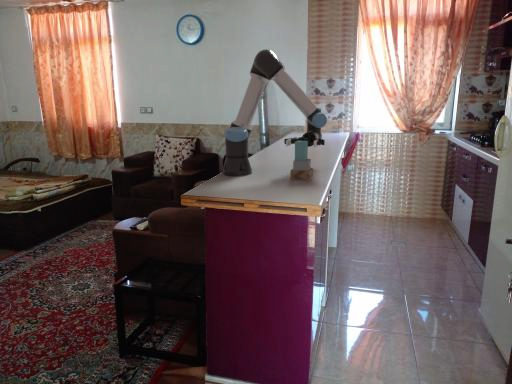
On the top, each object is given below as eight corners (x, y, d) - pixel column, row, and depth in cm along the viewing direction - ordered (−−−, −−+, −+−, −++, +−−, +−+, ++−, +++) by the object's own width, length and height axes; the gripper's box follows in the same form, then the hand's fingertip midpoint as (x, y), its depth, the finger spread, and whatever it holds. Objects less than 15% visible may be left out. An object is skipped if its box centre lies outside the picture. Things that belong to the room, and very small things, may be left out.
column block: (294, 160, 192) (294, 141, 190) (297, 158, 197) (297, 140, 195) (304, 161, 190) (305, 142, 188) (307, 159, 195) (307, 140, 193)
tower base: (290, 179, 193) (290, 170, 192) (295, 175, 201) (295, 167, 200) (308, 180, 190) (308, 171, 189) (312, 176, 198) (312, 167, 197)
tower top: (293, 170, 192) (293, 161, 191) (295, 167, 199) (295, 158, 198) (308, 170, 190) (308, 161, 189) (310, 168, 197) (310, 159, 196)
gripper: (333, 146, 207) (326, 152, 188) (287, 145, 215) (275, 150, 196) (333, 132, 205) (326, 136, 186) (287, 131, 213) (275, 135, 194)
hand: (300, 143), depth 191 cm, fingers open, 13 cm apart
